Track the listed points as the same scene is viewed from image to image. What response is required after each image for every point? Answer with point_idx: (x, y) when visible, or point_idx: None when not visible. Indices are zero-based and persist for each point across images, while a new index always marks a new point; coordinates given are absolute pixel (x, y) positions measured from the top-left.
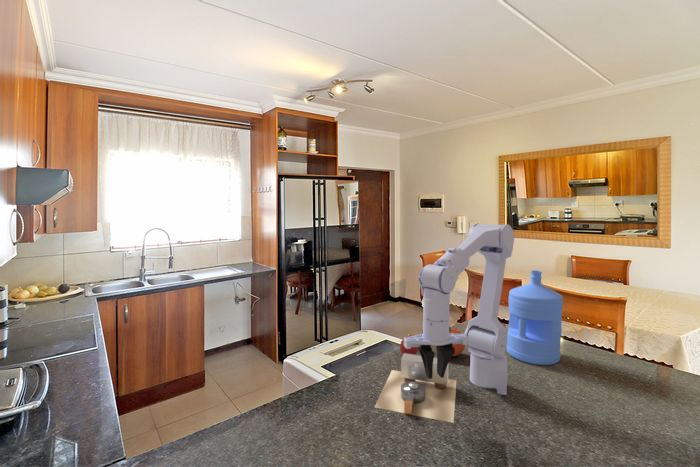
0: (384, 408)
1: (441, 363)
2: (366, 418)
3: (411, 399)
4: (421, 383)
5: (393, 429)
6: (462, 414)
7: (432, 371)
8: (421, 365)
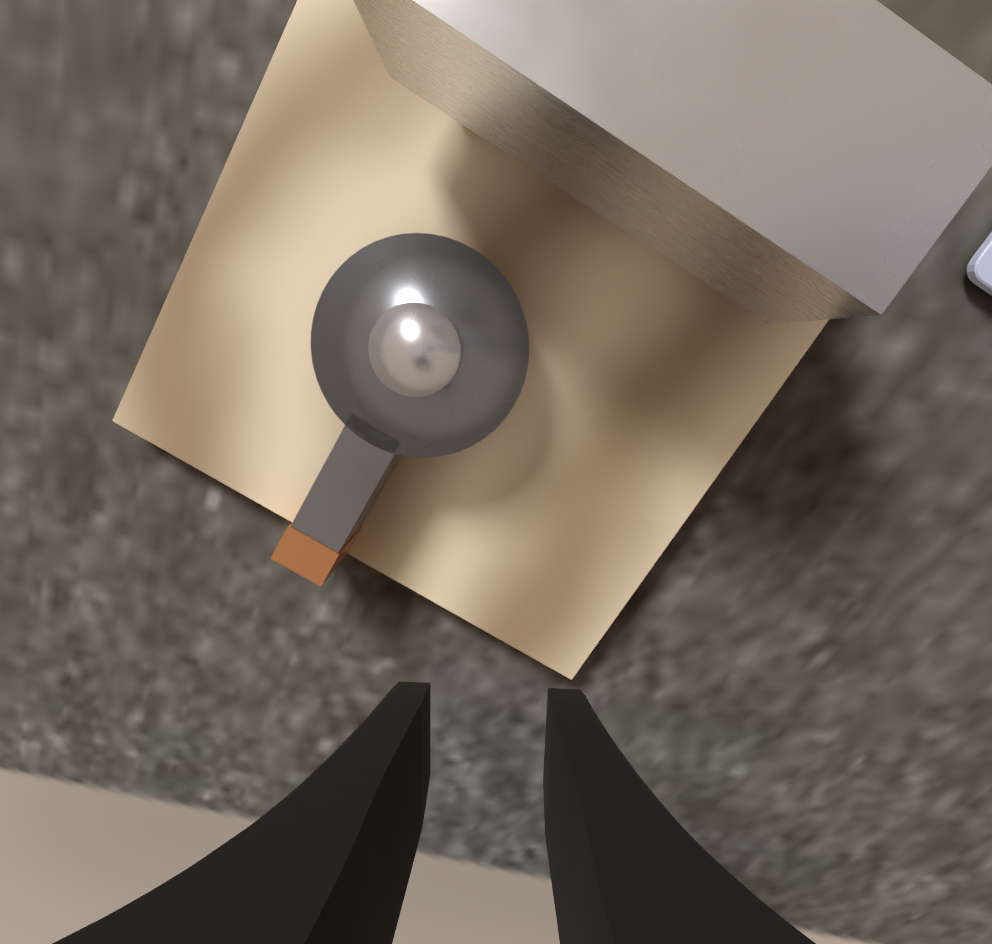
0: (181, 449)
1: (568, 928)
2: (79, 470)
3: (338, 527)
4: None
5: (223, 600)
6: (700, 557)
7: (408, 876)
8: (584, 135)
